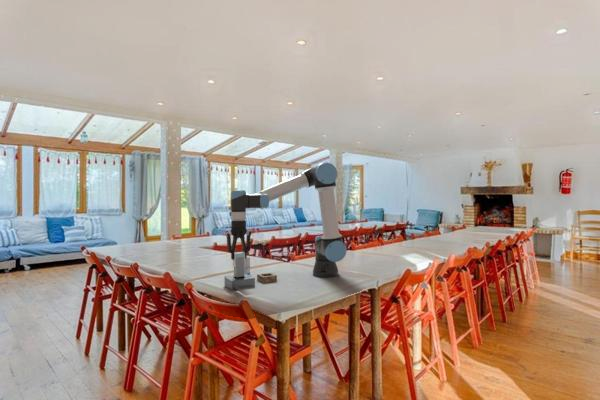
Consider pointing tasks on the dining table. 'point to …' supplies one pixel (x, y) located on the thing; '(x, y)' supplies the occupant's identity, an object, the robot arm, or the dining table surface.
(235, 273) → the plug
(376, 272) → the dining table surface
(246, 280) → the block
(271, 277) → the brown hollow block
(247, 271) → the ink box
